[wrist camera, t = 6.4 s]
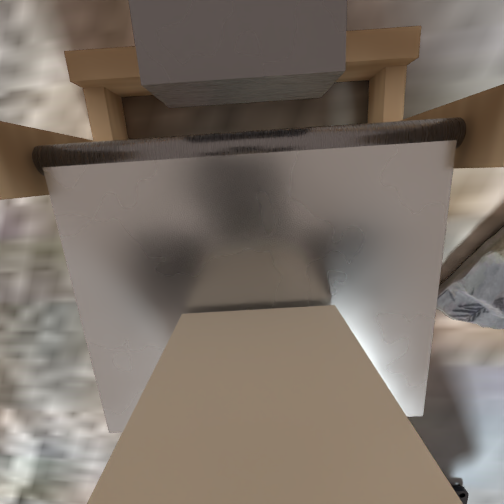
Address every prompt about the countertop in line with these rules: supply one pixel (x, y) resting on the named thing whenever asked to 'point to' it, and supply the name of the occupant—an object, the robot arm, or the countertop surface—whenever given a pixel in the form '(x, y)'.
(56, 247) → the countertop surface
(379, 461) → the limestone block
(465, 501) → the robot arm
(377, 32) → the stand
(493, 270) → the fossil rock
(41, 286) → the countertop surface
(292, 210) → the trapdoor
